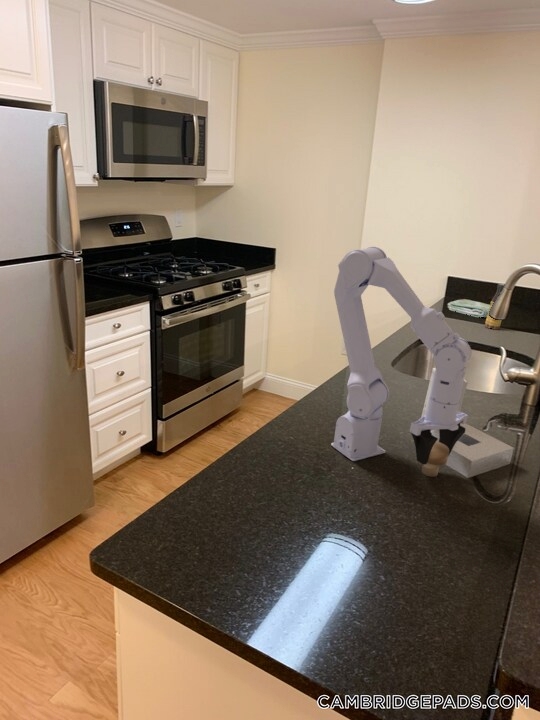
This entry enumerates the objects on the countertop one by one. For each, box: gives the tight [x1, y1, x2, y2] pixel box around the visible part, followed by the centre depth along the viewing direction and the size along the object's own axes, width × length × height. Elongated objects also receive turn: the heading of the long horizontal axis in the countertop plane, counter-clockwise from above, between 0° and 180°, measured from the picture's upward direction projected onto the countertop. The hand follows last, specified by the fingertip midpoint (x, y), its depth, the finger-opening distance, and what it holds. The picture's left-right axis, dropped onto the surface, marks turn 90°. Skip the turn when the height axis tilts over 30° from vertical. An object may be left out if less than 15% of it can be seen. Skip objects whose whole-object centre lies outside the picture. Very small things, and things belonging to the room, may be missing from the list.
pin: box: [421, 441, 449, 478], centre depth 110 cm, size 6×6×6 cm
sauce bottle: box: [484, 282, 505, 330], centre depth 232 cm, size 6×6×20 cm
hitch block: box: [430, 422, 515, 479], centre depth 119 cm, size 14×14×4 cm
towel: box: [447, 298, 490, 319], centre depth 263 cm, size 18×21×5 cm
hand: (432, 459), depth 110 cm, fingers closed on pin, 6 cm apart
